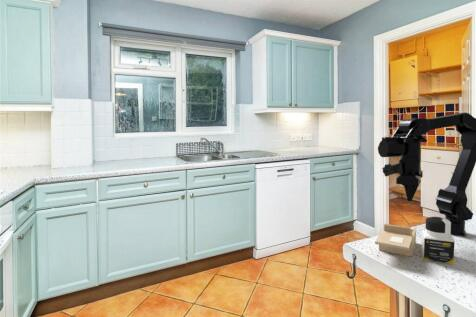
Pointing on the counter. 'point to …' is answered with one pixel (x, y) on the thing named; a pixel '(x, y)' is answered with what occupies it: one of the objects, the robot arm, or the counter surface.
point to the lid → (395, 236)
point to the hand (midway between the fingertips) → (409, 200)
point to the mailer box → (401, 251)
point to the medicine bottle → (438, 240)
